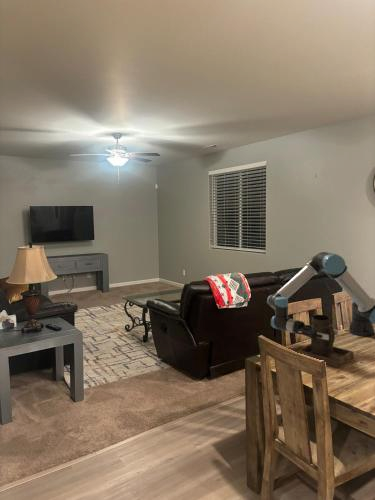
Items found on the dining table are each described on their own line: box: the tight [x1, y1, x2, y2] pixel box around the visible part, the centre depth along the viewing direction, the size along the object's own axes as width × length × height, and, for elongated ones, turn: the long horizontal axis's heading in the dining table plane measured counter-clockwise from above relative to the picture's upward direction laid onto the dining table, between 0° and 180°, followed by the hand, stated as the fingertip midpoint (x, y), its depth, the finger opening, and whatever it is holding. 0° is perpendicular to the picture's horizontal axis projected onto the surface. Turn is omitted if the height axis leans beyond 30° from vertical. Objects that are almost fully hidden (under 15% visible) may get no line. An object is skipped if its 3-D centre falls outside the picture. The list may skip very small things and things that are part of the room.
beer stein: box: [310, 314, 336, 355], centre depth 199 cm, size 15×11×20 cm
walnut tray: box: [297, 343, 354, 369], centre depth 201 cm, size 18×22×4 cm
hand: (333, 335), depth 196 cm, fingers closed on beer stein, 9 cm apart
